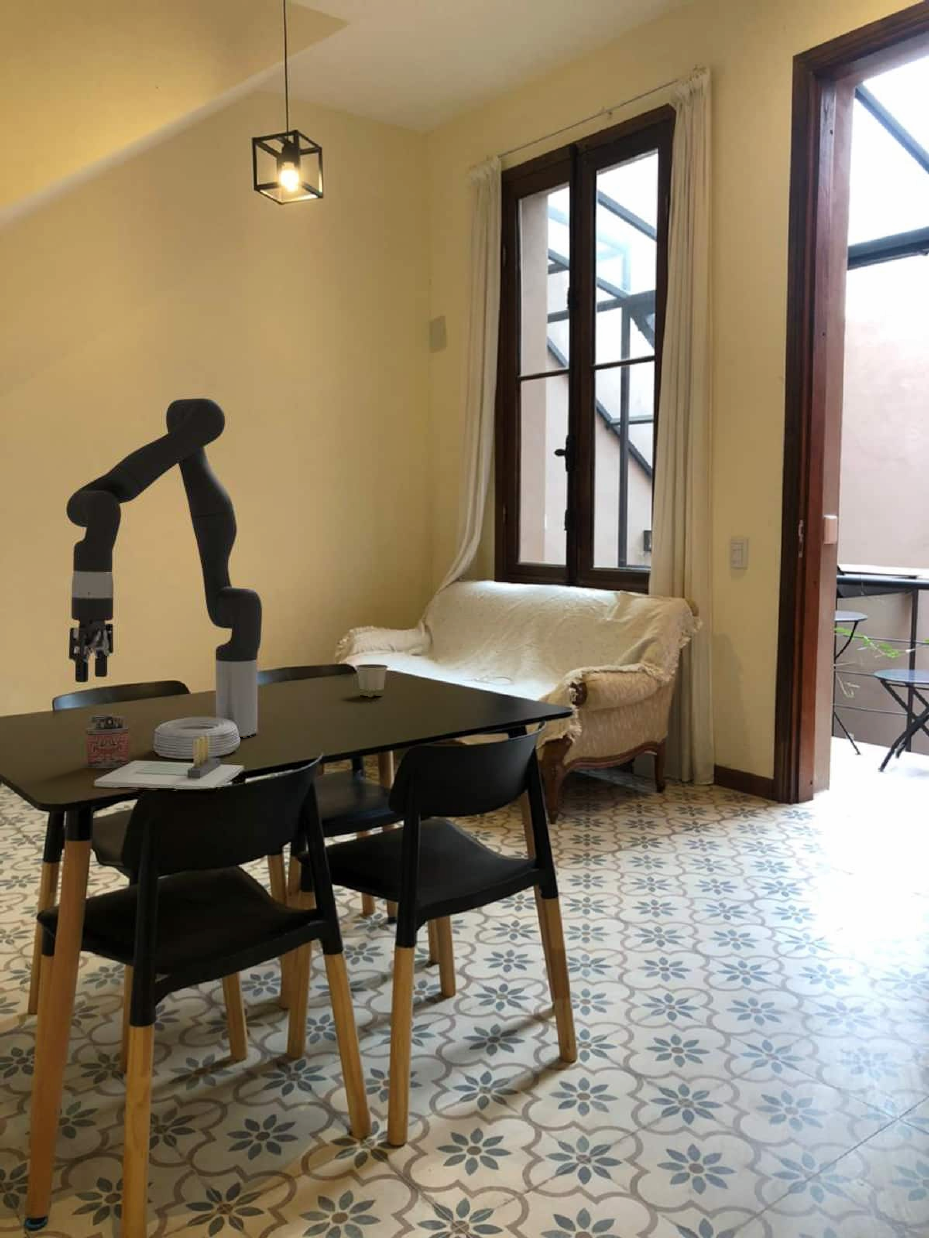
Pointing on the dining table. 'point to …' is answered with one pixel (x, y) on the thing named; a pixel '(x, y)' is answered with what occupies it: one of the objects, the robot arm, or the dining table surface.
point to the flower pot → (371, 676)
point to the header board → (174, 772)
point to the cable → (195, 737)
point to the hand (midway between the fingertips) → (91, 679)
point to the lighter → (107, 742)
